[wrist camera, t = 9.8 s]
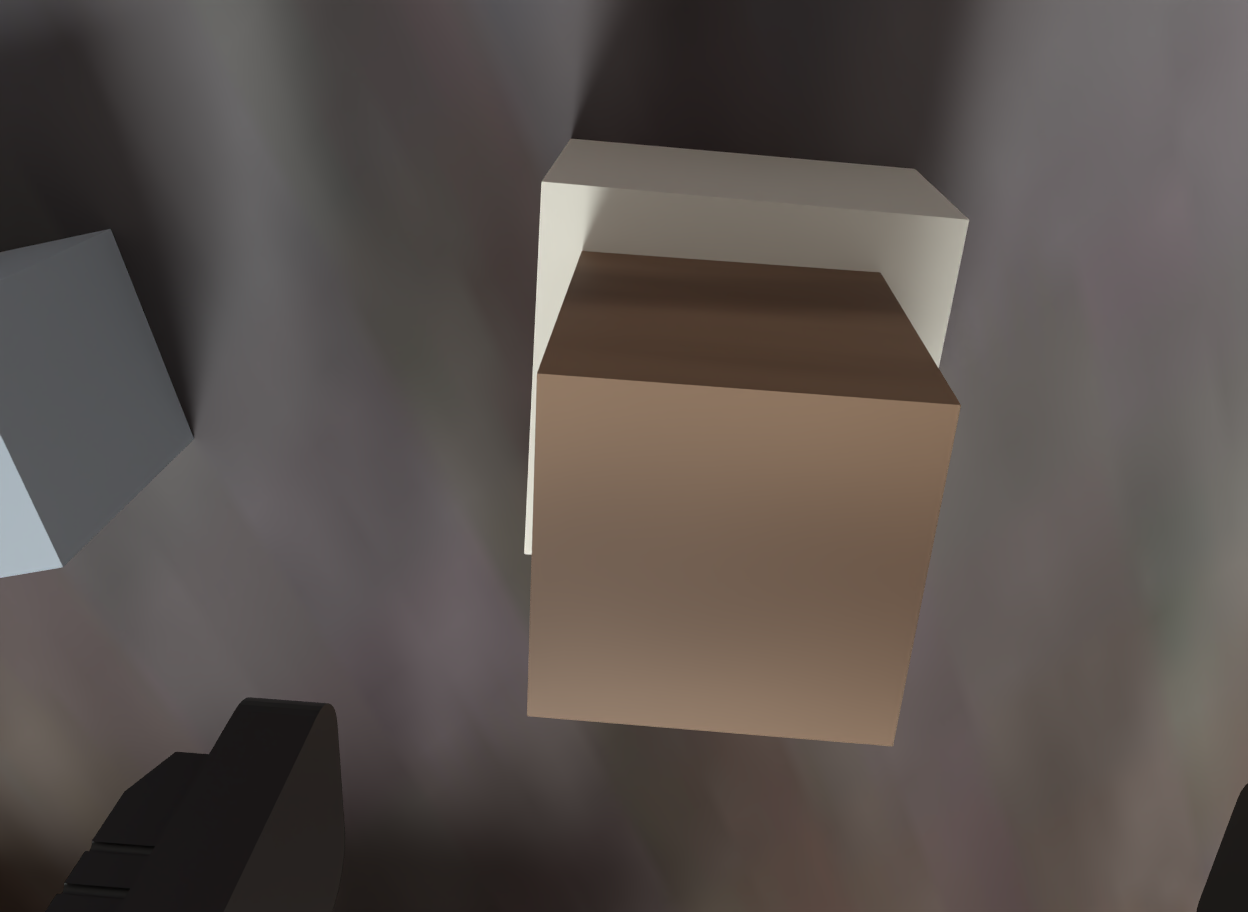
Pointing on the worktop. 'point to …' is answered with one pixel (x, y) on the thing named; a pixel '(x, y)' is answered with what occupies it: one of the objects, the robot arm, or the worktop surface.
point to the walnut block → (732, 499)
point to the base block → (744, 226)
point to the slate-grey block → (75, 399)
